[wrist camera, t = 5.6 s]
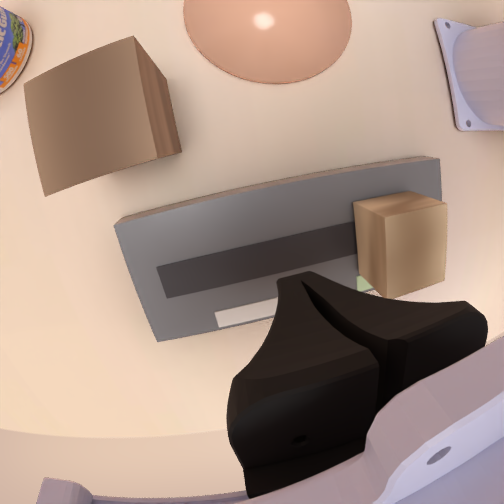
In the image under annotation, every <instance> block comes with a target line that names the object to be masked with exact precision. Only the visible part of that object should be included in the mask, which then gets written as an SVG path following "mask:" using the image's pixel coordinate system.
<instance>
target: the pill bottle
mask: <svg viewBox="0 0 504 504" xmlns="http://www.w3.org/2000/svg"><path fill="white" fill-rule="evenodd" d="M31 45H32V31H31V28H30V26H29V24H28V23H27V22H26V21H25V20H24V19H22V18H21V17H19V16H17V15H15V14H13V13H12V12H10V11H8V10H6V9H4V8H2V7H0V93H1V92H3V91H4V90H6V89H7V88H8V87H9V86H10V85H11V84H12V83H13V82H14V81H15V80H16V78H17V77H18V75H19V74H20V73H21V71H22V69H23V67H24V66H25V63H26V61H27V59H28V56H29V53H30V50H31Z"/></svg>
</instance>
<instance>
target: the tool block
mask: <svg viewBox="0 0 504 504" xmlns="http://www.w3.org/2000/svg"><path fill="white" fill-rule="evenodd" d="M24 93H25V101H26V109H27V116H28V122H29V128H30V134H31V139H32V144H33V149H34V154H35V159H36V163H37V168H38V172H39V176H40V180H41V184H42V188H43V191H44V195H45V197H46V196H48V195H51V194H53V193H56V192H59V191H61V190H64V189H66V188H69V187H72V186H74V185H77V184H80V183H83V182H85V181H88V180H91V179H94V178H97V177H100V176H103V175H106V174H109V173H112V172H115V171H118V170H121V169H124V168H128V167H131V166H134V165H137V164H141V163H144V162H147V161H151V160H154V159H158V158H162V157H165V156H169V155H173V154H176V153H180V152H182V150H181V146H180V142H179V137H178V133H177V128H176V124H175V119H174V115H173V110H172V105H171V100H170V96H169V91H168V86H167V81H166V78H165V77H164V76H163V74H162V73H161V72H160V70H159V69H158V67H157V66H156V65H155V63H154V62H153V61H152V59H151V58H150V57H149V55H148V54H147V53H146V52H145V50H144V49H143V48H142V46H141V45H140V44H139V42H138V41H137V40H136V38H135V37H134V36H131V37H128V38H125V39H122V40H119V41H116V42H113V43H111V44H108V45H105V46H103V47H100V48H97V49H95V50H92V51H90V52H88V53H85V54H83V55H81V56H78V57H76V58H74V59H72V60H69V61H67V62H65V63H63V64H61V65H59V66H57V67H55V68H53V69H51V70H49V71H47V72H45V73H43V74H41V75H39V76H37V77H35V78H33V79H32V80H30V81H28V82H26V83H25V84H24Z"/></svg>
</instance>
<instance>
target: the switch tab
mask: <svg viewBox="0 0 504 504" xmlns="http://www.w3.org/2000/svg"><path fill="white" fill-rule="evenodd" d="M353 207H354V217H355V227H356V239H357V252H358V267H359V274H360V275H361V276H362V277H363V278H364V279H365V280H366V281H367V282H368V283H369V284H370V285H371V286H372V287H373V288H374V289H375V290H376V291H377V292H378V293H379V294H380V295H381V296H382V297H383V298H388V299H394V298H397V297H400V296H403V295H406V294H408V293H411V292H414V291H417V290H420V289H423V288H425V287H428V286H431V285H434V284H436V283H439V282H442V281H444V279H445V266H446V248H447V203H444V202H442V201H439V200H436V199H433V198H430V197H427V196H424V195H421V194H418V193H415V192H412V191H407V192H402V193H396V194H391V195H386V196H381V197H376V198H371V199H366V200H361V201H356V202H353Z"/></svg>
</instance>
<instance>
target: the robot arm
mask: <svg viewBox="0 0 504 504" xmlns="http://www.w3.org/2000/svg"><path fill="white" fill-rule="evenodd" d="M434 24H435V27H436V31H437V34H438V38H439V41H440V45H441V49H442V53H443V57H444V61H445V65H446V70H447V74H448V79H449V84H450V89H451V95H452V101H453V107H454V114H455V121H456V126H457V128H458V129H459V130H461V131H483V130H504V22H499V23H495V24H491V25H486V26H482V27H478V28H476V27H473V26H469V25H466V24H462V23H459V22H455V21H451V20H447V19H443V18H437V19H435V21H434ZM446 26H447V27H446ZM466 121H467V124H466ZM276 284H277V289H278V303H277V308H276V312H275V316H274V320H273V323H272V325H271V328H270V330H269V333H268V335H267V337H266V339H265V341H264V342H263V344H262V346H261V347H260V349H259V350H258V352H257V353H256V354H255V356H254V357H253V359H252V360H251V361H250V362H249V364H248V365H247V366H246V367H244V368H243V369H242V370H241V371H240V372H239V373H238V374H237V375H236V376H235V377H234V378H233V380H232V384H231V389H230V393H229V398H228V405H227V430H228V437H229V441H230V445H231V447H232V448H233V450H234V452H235V454H236V456H237V458H238V460H239V462H240V463H241V466H242V467H243V472H244V478H245V486H246V490H245V491H239V492H232V493H224V494H215V495H205V496H193V497H177V498H125V497H107V496H97V495H92V494H91V493H90V492H89V491H88V490H87V489H86V488H85V487H83V486H82V485H80V484H78V483H76V482H73V481H69V480H61V479H55V478H49V477H45V478H44V479H43V482H42V486H41V489H40V492H39V496H38V499H37V503H36V504H504V336H503V337H500V338H498V339H496V340H494V341H493V342H491V343H490V344H488V345H486V346H485V343H486V339H487V333H488V325H487V320H486V318H485V316H484V315H483V314H482V313H480V312H479V311H478V310H477V309H475V308H474V307H473V306H472V305H470V304H469V303H468V302H466V301H456V302H441V303H426V302H409V301H401V300H393V299H388V298H383V297H379V296H375V295H370V294H367V293H364V292H361V291H358V290H355V289H352V288H349V287H347V286H344V285H342V284H339V283H337V282H335V281H332V280H330V279H328V278H326V277H324V276H321V275H319V274H317V273H315V272H312V271H306V272H303V273H299V274H295V275H291V276H287V277H283V278H279V279H278V280H277V281H276Z"/></svg>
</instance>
